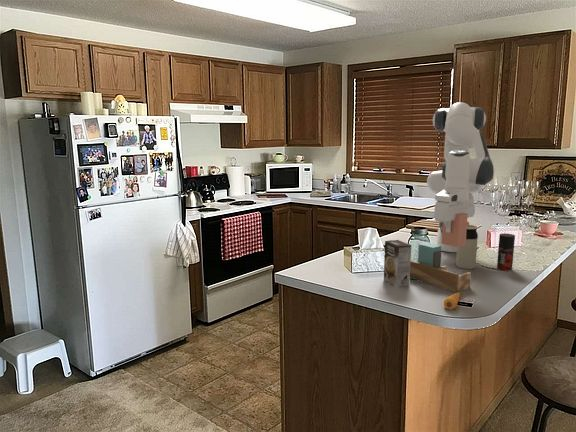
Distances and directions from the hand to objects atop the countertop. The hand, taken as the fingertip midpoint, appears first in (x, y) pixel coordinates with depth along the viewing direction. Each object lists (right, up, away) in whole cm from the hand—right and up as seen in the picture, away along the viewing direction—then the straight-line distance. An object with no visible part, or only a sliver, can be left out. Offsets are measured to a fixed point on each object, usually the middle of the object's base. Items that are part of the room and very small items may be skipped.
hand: (454, 231), depth 176 cm
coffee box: (-20, -21, +9) cm, 30 cm away
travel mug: (+15, -17, +28) cm, 36 cm away
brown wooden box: (-3, -20, +8) cm, 22 cm away
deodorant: (+30, -17, +24) cm, 42 cm away
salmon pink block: (0, -5, +1) cm, 5 cm away
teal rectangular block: (-6, -18, +12) cm, 22 cm away
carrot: (-4, -25, -11) cm, 27 cm away
